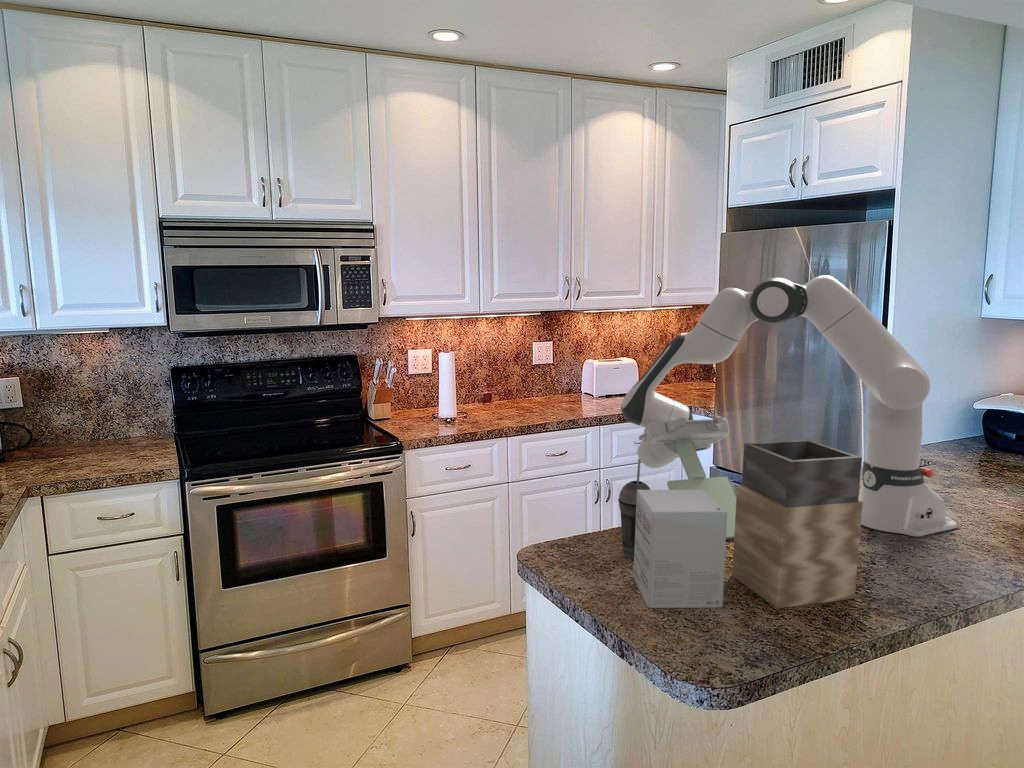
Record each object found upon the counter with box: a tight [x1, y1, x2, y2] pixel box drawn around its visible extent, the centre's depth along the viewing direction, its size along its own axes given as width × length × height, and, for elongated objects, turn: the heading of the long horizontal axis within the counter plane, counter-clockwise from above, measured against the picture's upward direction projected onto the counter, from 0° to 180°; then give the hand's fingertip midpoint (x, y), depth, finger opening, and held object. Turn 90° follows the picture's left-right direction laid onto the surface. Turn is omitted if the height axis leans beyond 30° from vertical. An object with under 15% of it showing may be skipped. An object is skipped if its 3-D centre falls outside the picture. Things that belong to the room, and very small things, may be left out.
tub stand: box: [731, 439, 863, 609], centre depth 129 cm, size 16×14×26 cm
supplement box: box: [632, 489, 727, 609], centre depth 127 cm, size 13×13×18 cm
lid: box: [666, 439, 737, 540], centre depth 162 cm, size 15×26×2 cm
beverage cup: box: [617, 458, 652, 560], centre depth 144 cm, size 7×7×20 cm
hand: (701, 420), depth 161 cm, fingers open, 8 cm apart
